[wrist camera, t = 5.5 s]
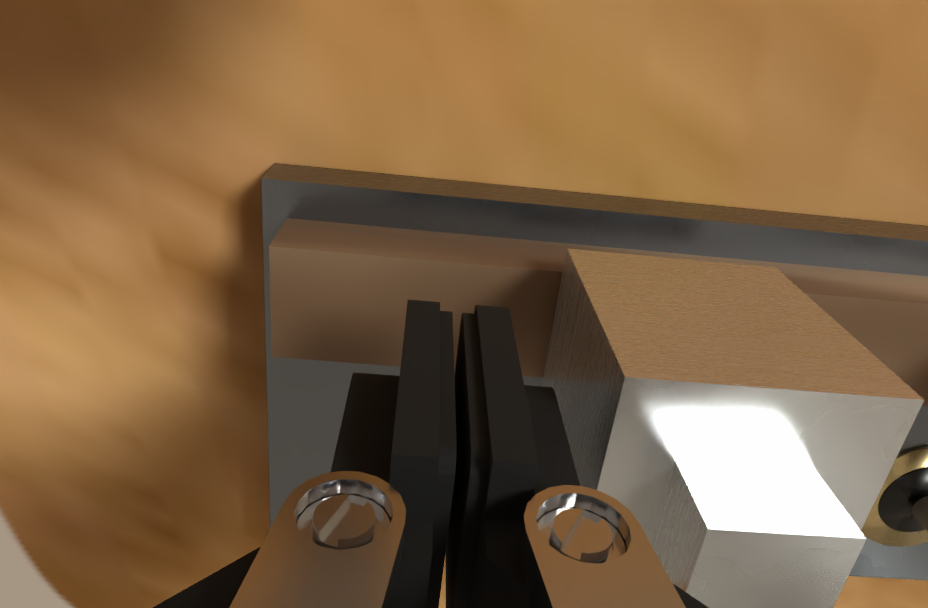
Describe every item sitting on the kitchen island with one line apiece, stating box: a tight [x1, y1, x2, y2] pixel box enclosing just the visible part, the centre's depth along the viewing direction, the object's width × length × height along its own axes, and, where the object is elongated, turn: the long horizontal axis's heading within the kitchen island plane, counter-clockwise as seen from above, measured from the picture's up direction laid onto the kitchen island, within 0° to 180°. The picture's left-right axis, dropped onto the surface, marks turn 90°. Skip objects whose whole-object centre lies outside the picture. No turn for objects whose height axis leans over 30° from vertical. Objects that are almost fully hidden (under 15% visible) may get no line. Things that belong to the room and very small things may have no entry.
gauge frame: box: [269, 218, 928, 532], centre depth 13 cm, size 7×21×8 cm, turn 84°
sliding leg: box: [542, 249, 924, 608], centre depth 12 cm, size 7×4×7 cm, turn 174°
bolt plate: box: [261, 163, 928, 580], centre depth 17 cm, size 10×22×1 cm, turn 84°
